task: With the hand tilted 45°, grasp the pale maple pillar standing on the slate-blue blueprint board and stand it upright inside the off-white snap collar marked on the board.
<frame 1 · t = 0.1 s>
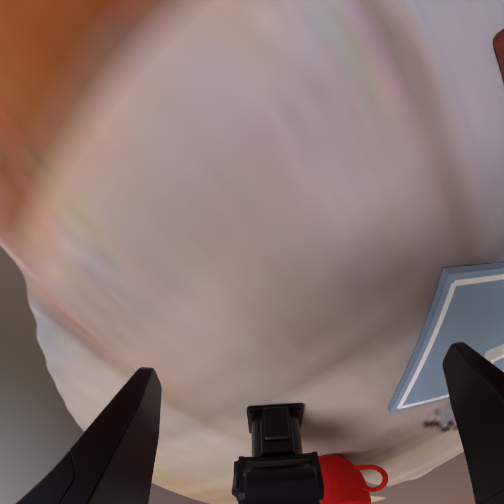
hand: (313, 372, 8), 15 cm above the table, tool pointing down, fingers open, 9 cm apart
blueprint board: (485, 337, 30), on the table
snap collar: (499, 361, 32), resting on blueprint board
ceramic cup: (333, 456, 44), on the table
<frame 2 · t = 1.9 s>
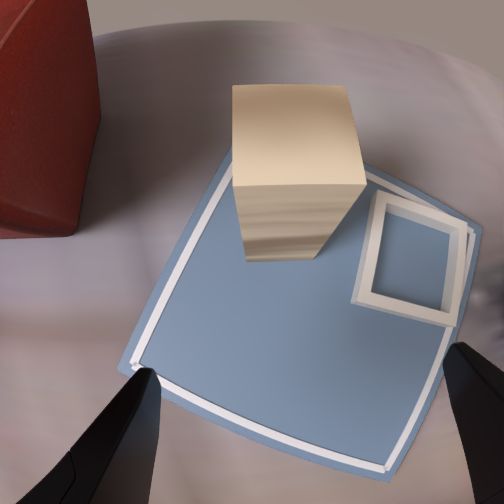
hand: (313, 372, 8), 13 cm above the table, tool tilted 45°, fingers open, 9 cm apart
blueprint board: (324, 299, 22), on the table
maple pillar: (278, 229, 22), point 1 cm above the table, touching blueprint board
snap collar: (411, 262, 22), resting on blueprint board
plant pot: (39, 178, 26), on the table
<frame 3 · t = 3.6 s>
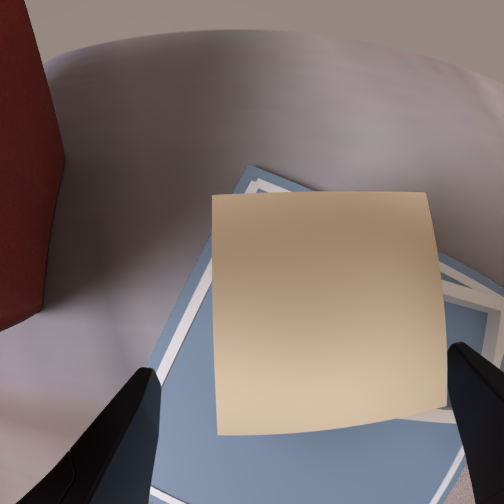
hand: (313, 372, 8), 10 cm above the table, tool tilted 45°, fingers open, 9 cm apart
blueprint board: (339, 404, 17), on the table
maple pillar: (285, 325, 17), point 1 cm above the table, touching blueprint board
snap collar: (444, 354, 16), resting on blueprint board
plant pot: (1, 234, 20), on the table
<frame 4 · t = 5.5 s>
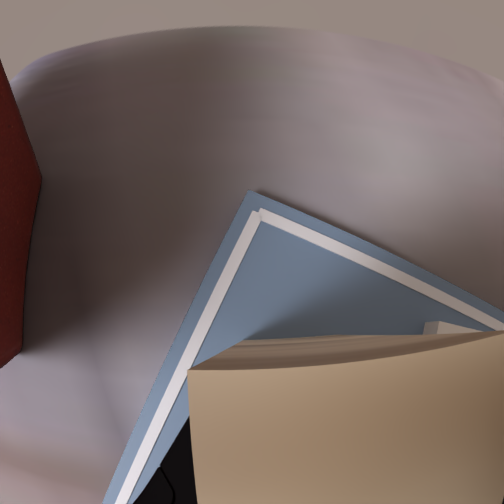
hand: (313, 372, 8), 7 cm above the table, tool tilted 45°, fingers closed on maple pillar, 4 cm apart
blueprint board: (348, 459, 14), on the table
maple pillar: (292, 384, 14), point 1 cm above the table, touching blueprint board, gripper
snap collar: (462, 404, 14), resting on blueprint board
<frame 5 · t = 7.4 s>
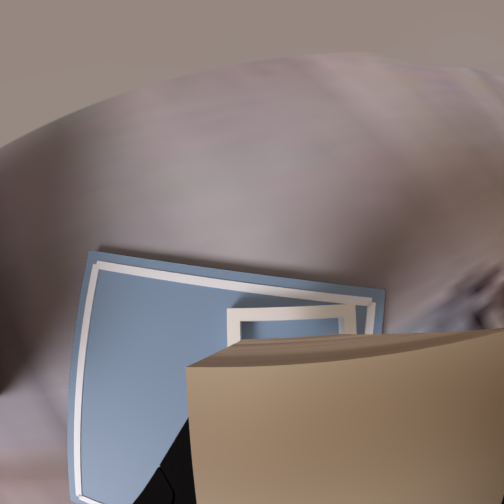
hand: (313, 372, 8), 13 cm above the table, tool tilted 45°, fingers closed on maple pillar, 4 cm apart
blueprint board: (209, 423, 20), on the table
maple pillar: (291, 383, 14), point 7 cm above the table, touching gripper
snap collar: (291, 368, 20), resting on blueprint board
when the fingers open (9 cm above the table, at t = 9.5 s): maple pillar drops 2 cm, resting on blueprint board.
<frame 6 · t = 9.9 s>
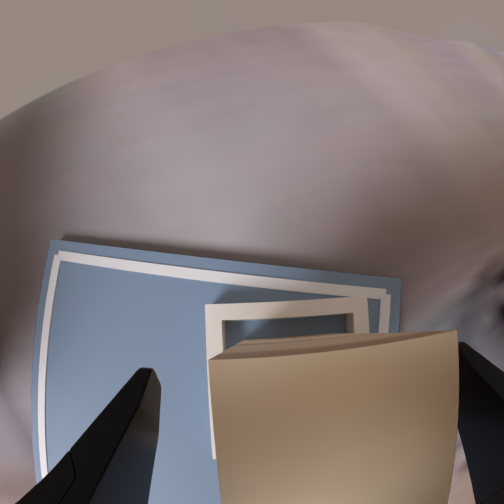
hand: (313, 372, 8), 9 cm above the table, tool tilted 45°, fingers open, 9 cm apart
blueprint board: (190, 444, 16), on the table
maple pillar: (288, 378, 16), point 1 cm above the table, touching blueprint board
snap collar: (288, 378, 16), resting on blueprint board
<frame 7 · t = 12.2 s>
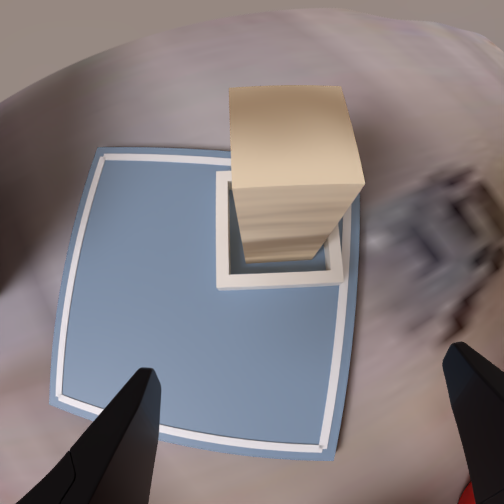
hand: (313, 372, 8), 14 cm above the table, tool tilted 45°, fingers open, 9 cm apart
blueprint board: (197, 294, 23), on the table
maple pillar: (276, 230, 23), point 1 cm above the table, touching blueprint board
snap collar: (276, 230, 23), resting on blueprint board
ceramic cup: (477, 482, 18), on the table
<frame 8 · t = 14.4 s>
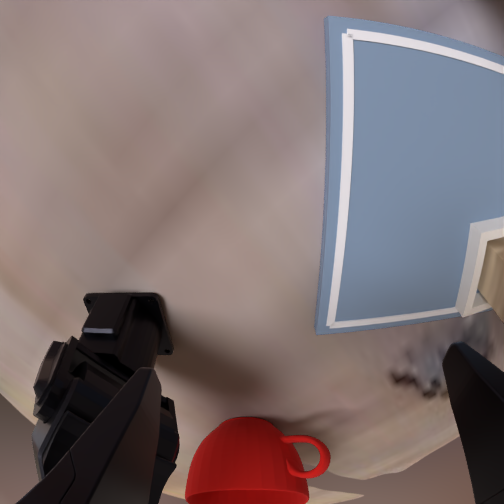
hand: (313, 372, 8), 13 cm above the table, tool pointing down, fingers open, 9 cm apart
blueprint board: (464, 197, 19), on the table
maple pillar: (498, 258, 21), point 1 cm above the table, touching blueprint board
snap collar: (498, 258, 21), resting on blueprint board
ceramic cup: (258, 422, 34), on the table
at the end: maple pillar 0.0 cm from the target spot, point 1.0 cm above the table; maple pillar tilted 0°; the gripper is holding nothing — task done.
